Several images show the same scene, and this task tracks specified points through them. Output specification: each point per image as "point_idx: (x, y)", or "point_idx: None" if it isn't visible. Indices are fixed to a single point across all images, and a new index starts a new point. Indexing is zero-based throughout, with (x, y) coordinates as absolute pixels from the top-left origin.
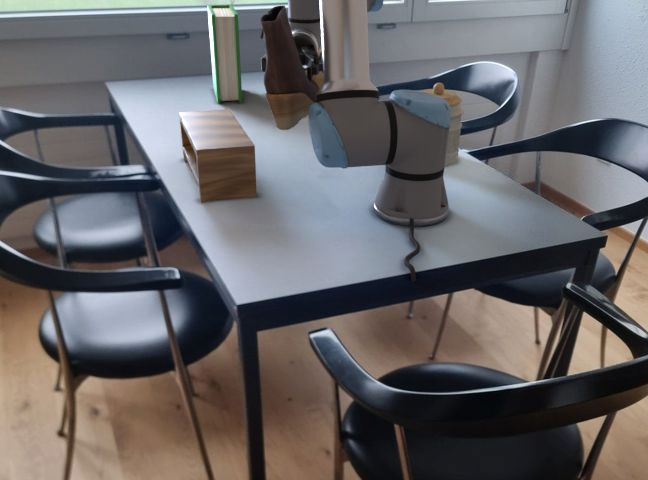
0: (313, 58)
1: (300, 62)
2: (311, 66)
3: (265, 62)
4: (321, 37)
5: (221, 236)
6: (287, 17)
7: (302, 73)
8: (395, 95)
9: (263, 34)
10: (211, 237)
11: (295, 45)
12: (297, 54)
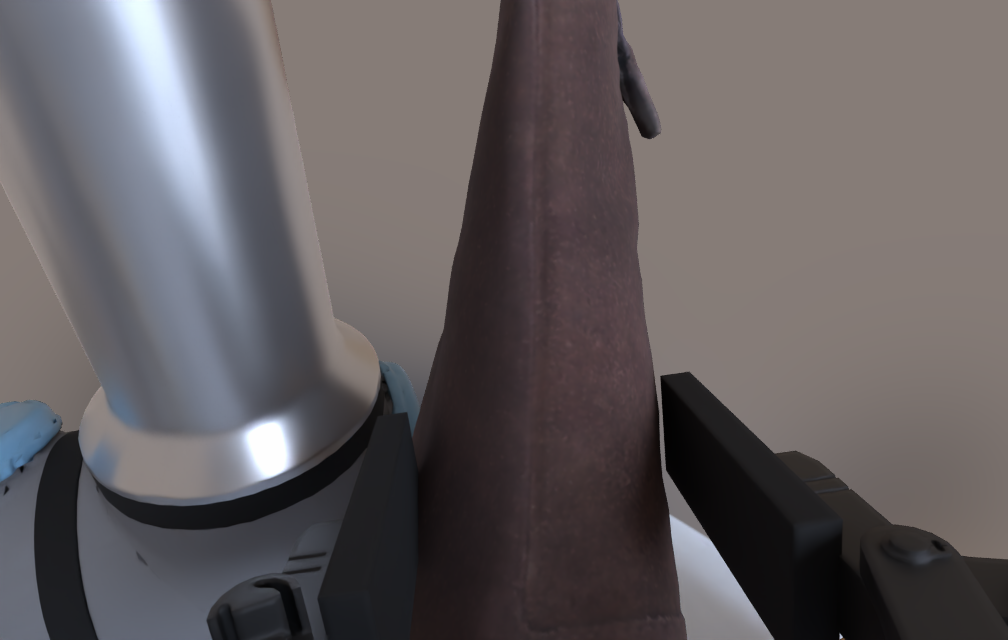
0: (303, 601)
1: (445, 325)
2: (368, 452)
3: (992, 567)
4: (300, 155)
5: (685, 566)
6: (498, 21)
7: (437, 357)
8: (39, 408)
9: (631, 112)
10: (705, 557)
11: (464, 220)
12: (453, 261)
